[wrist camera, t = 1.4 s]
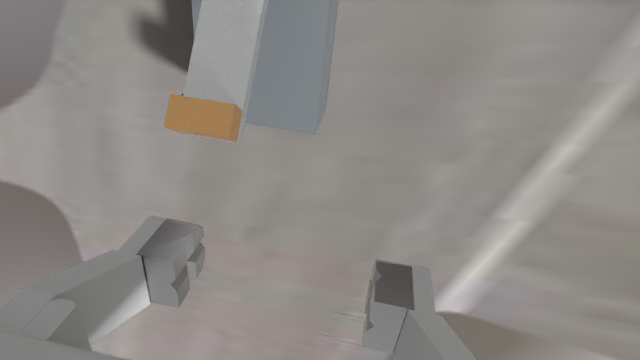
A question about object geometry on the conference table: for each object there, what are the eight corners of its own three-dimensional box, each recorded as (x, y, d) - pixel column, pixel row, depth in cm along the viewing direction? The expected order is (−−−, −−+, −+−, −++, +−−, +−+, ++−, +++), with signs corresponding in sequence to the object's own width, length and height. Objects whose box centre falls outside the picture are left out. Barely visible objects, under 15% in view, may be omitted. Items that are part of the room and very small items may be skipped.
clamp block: (354, -136, 29) (340, -165, 22) (325, 110, 40) (309, 149, 32) (215, -151, 30) (155, -183, 23) (223, 94, 41) (184, 128, 33)
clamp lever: (288, -103, 26) (281, -137, 23) (240, 144, 25) (228, 137, 22) (231, -110, 26) (218, -144, 24) (182, 134, 25) (163, 126, 23)
